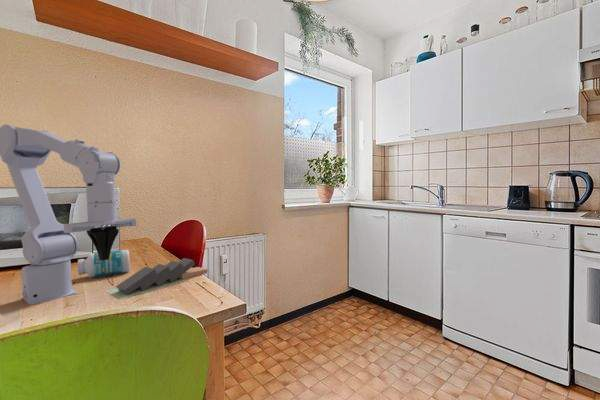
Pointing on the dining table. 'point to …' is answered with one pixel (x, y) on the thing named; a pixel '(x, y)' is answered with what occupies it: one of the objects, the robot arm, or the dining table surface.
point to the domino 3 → (173, 268)
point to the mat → (137, 291)
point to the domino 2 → (160, 271)
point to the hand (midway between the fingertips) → (104, 259)
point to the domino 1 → (136, 280)
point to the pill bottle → (105, 264)
